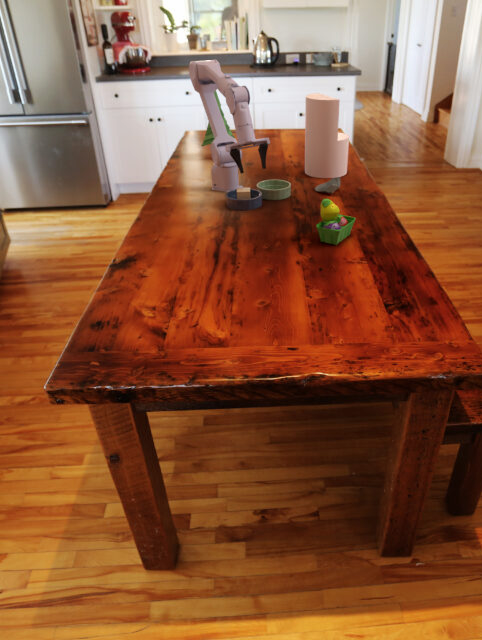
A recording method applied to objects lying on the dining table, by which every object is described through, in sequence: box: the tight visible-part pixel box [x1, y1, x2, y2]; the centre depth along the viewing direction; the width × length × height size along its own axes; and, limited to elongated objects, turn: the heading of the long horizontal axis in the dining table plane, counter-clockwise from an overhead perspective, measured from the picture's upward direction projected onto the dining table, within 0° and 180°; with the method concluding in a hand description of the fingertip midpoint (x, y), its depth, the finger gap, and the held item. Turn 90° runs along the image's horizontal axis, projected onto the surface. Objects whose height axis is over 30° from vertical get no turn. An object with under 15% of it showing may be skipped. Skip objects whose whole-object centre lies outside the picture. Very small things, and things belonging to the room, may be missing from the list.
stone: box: [314, 177, 341, 195], centre depth 177 cm, size 11×4×10 cm
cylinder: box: [304, 92, 350, 179], centre depth 191 cm, size 17×17×28 cm
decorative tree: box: [201, 90, 236, 147], centre depth 210 cm, size 14×16×30 cm
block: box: [237, 186, 251, 200], centre depth 165 cm, size 4×4×5 cm
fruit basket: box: [316, 198, 356, 246], centre depth 140 cm, size 11×9×11 cm
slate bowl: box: [225, 188, 263, 211], centre depth 166 cm, size 12×12×4 cm
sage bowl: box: [256, 179, 292, 201], centre depth 174 cm, size 12×12×4 cm
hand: (253, 170), depth 161 cm, fingers open, 7 cm apart
